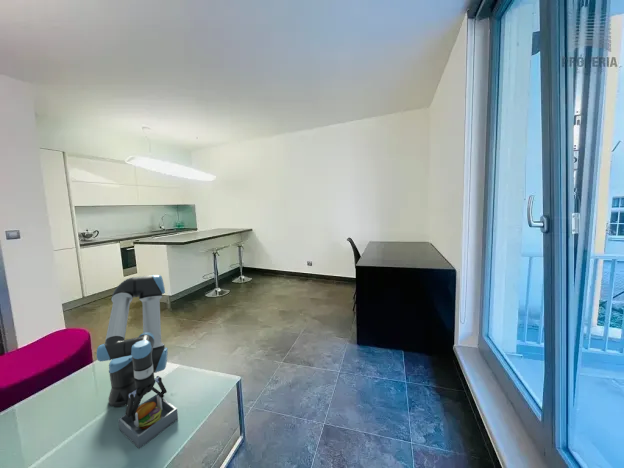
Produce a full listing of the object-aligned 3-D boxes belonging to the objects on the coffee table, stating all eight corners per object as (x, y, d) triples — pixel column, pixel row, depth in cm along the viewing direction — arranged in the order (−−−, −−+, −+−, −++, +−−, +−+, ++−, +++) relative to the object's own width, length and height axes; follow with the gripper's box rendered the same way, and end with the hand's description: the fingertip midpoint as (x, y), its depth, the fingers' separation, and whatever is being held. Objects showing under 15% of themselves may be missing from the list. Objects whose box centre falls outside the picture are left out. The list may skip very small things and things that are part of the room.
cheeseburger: (151, 433, 118) (143, 414, 117) (133, 433, 121) (125, 415, 120) (167, 414, 128) (161, 396, 127) (150, 415, 131) (144, 397, 130)
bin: (119, 430, 122) (118, 418, 121) (158, 404, 137) (156, 394, 136) (139, 449, 113) (137, 437, 112) (178, 419, 128) (177, 408, 127)
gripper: (120, 393, 109) (126, 439, 113) (172, 363, 129) (176, 403, 132) (111, 386, 113) (117, 431, 117) (163, 358, 132) (167, 397, 136)
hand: (148, 416), depth 124 cm, fingers closed on cheeseburger, 10 cm apart
